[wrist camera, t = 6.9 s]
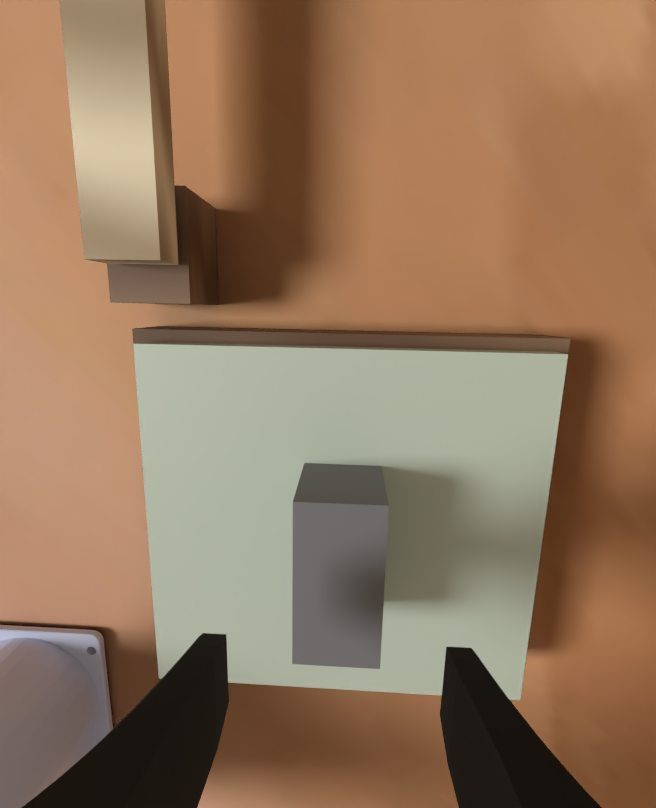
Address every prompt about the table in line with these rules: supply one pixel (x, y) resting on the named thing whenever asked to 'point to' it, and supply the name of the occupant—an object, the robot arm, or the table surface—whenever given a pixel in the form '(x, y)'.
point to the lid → (346, 507)
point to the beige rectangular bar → (121, 129)
